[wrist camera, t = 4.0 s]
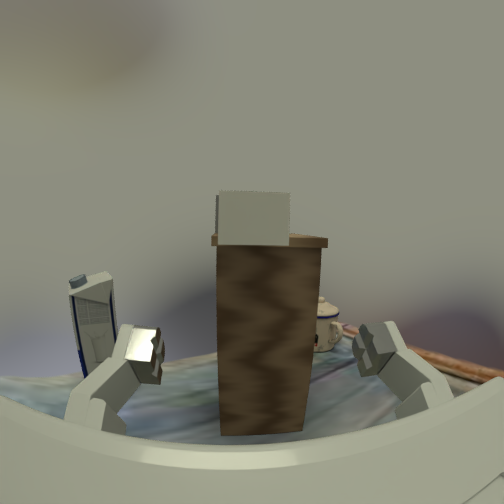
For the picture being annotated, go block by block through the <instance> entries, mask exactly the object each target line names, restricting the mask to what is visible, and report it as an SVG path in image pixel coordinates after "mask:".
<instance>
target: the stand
mask: <svg viewBox="0 0 504 504" xmlns="http://www.w3.org/2000/svg"><path fill="white" fill-rule="evenodd" d="M211 245H212V246H217V264H216V267H217V268H216V271H217V272H216V274H217V275H216V277H217V279H216V285H217V286H216V287H217V289H216V293H217V294H216V296H217V356H218V386H219V409H220V428H221V435H261V434H275V433H286V432H295V431H302V429H303V423H304V417H305V411H306V404H307V398H308V391H309V384H310V377H311V369H312V361H313V352H314V343H315V334H316V323H317V312H318V300H319V286H320V269H321V249H322V248H328V238H322V237H315V236H307V235H300V234H289V246H280V245H218V233H215V234H214V235H212V244H211Z"/></svg>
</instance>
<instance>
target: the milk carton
mask: <svg viewBox="0 0 504 504" xmlns="http://www.w3.org/2000/svg"><path fill="white" fill-rule="evenodd" d="M69 283H70V285H69V300H70V308H71V315H72V322H73V328H74V333H75V339H76V344H77V349H78V354H79V358H80V362H81V367H82V371H83V375H84V379H85V378H86V377H87V376H88V375H89V374H90V373H91V372H93V371H94V370H95V369H96V368H97V367H98V366H99V365H100V364H101V363H102V362H104V361H105V360H106V359H107V358H108V357H110V358H111V357H112V354H113V350H114V347H115V343H116V340H117V337H118V329H117V321H116V311H115V301H114V289H113V278H112V277H111V276H110V275H109V274H108V272H107V271H105V272H102V273H99V274H94V275H92V276H89V277H87V278H86V276H85V275H84V274H83V275H79V276H77V277H74V278H73V279H71V280H70V281H69Z"/></svg>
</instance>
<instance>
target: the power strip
mask: <svg viewBox="0 0 504 504" xmlns="http://www.w3.org/2000/svg"><path fill="white" fill-rule="evenodd" d="M289 221H290V193H280V192H257V191H255V192H254V191H219V195H217V196H216V221H215V225H216V226H215V233H218V245H280V246H289Z"/></svg>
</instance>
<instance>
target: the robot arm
mask: <svg viewBox="0 0 504 504" xmlns="http://www.w3.org/2000/svg"><path fill="white" fill-rule="evenodd" d="M358 330H359V334H357V335H356V336H355V337H354V339H353V342H352V351H353V355H354V357H355V358H357V359H358V360H359V361H358V363H357V367H358V370H359V373H360V376H361V377H367V376H373V375H377V376H378V377H379V378H380V379H381V380H382V381H383V382H384V383H385V384H386V385H387V386H388V387H389V388H390V389H391V391H392V392H393V393H394V394H395V395H396V396H397V397H398V398H399V399H400V400H401V401H402V403H401V404H400V405H399V406H398V407H396V409H395V413H396V417H397V420H395V421H392V422H388V423H385V424H381V425H378V426H374V427H370V428H366V429H362V430H358V431H353V432H349V433H344V434H339V435H334V436H328V437H323V438H316V439H310V440H302V441H294V442H284V443H273V444H257V445H201V444H185V443H173V442H164V441H156V440H149V439H142V438H136V437H130V436H125V432H126V424H125V422H124V421H123V420H122V419H121V418H120V417H119V416H118V415H117V413H118V412H119V410H120V409H121V408H122V407H123V405H124V404H125V403H126V402H127V400H128V399H129V398H130V397H131V396H132V394H133V393H134V392H135V391H136V389H137V388H138V387H139V386H140V385H141V384H140V383H144V384H156V385H160V384H161V377H162V369H161V366H160V365H161V364H162V363H163V362H164V356H165V355H164V354H165V348H164V341H163V339H162V338H160V336H161V331H160V328H158V327H147V326H138V325H127V324H123V325H122V326H121V327H120V330H119V333H118V337H117V340H116V343H115V347H114V350H113V354H112V357H111V358H110V357H108V358H107V359H106V360H105V361H104V362H102V363H101V364H100V365H99V366H98V367H97V368H96V369H95V370H94V371H93V372H91V373H90V374H89V375H88V376H87V377H86V378H85V379H84V380H83V381H82V382H81V383H80V384H78V385H77V386H76V387H75V388H74V389H73V390H72V391H71V394H70V397H69V401H68V404H67V408H66V412H65V416H64V420H62V419H59V418H56V417H53V416H51V415H48V414H45V413H42V412H40V411H37V410H35V409H32V408H30V407H27V406H25V405H22V404H20V403H18V402H16V401H14V400H11V399H9V398H7V397H5V396H1V395H0V504H504V378H502V377H495V378H493V379H491V380H490V381H488V382H486V383H484V384H482V385H480V386H478V387H477V388H475V389H473V390H471V391H469V392H467V393H464V394H462V395H460V396H458V397H456V398H454V397H453V394H452V392H451V390H450V387H449V385H448V383H447V380H446V378H445V376H444V375H443V374H442V373H440V372H439V371H438V370H436V369H435V368H434V367H433V366H431V365H430V364H429V363H427V362H426V361H425V360H424V359H422V358H421V357H420V356H418V355H417V354H416V353H415V352H413V351H412V350H411V349H407V347H406V345H405V343H404V341H403V339H402V337H401V335H400V333H399V331H398V329H397V327H396V325H395V323H394V322H393V321H387V322H377V323H368V324H362V325H361V326H360V328H359V329H358Z"/></svg>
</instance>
